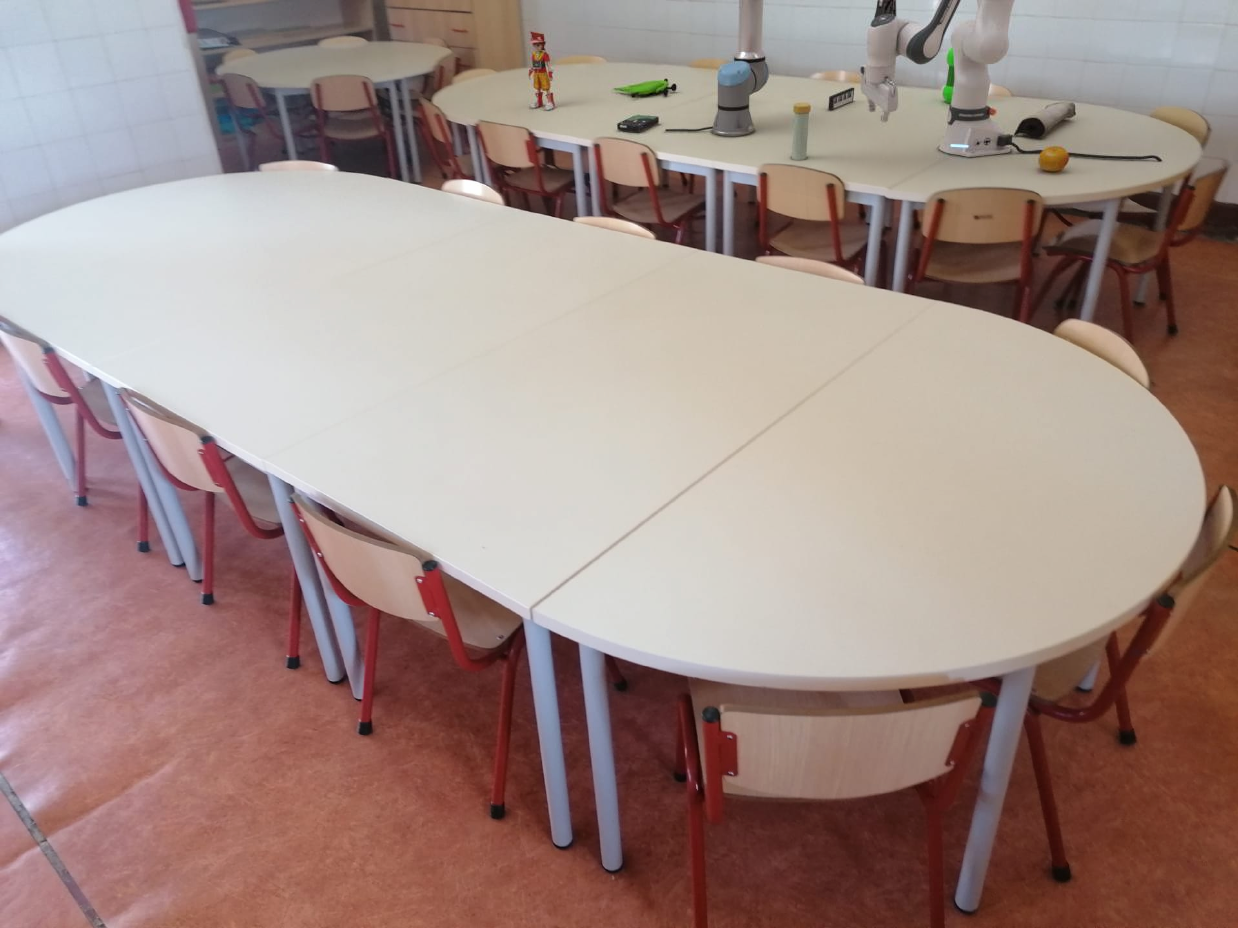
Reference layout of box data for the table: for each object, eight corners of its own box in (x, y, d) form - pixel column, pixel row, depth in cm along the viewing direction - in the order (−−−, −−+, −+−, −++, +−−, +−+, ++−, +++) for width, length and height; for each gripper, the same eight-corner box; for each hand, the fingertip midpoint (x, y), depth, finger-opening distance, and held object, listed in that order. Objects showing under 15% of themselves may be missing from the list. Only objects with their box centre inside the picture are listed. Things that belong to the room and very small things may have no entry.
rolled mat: (1043, 107, 330) (1067, 89, 322) (1056, 128, 330) (1081, 111, 322) (1009, 129, 312) (1034, 111, 304) (1024, 151, 313) (1049, 134, 305)
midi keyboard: (831, 110, 354) (832, 97, 351) (828, 110, 355) (829, 96, 352) (853, 101, 364) (854, 88, 361) (850, 100, 365) (851, 87, 362)
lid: (813, 111, 295) (814, 105, 294) (800, 114, 293) (800, 107, 292) (803, 108, 299) (803, 101, 298) (789, 111, 297) (790, 104, 296)
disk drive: (640, 133, 341) (659, 123, 351) (639, 126, 339) (659, 116, 349) (617, 131, 346) (636, 121, 356) (616, 123, 344) (636, 113, 354)
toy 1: (525, 109, 381) (517, 32, 364) (534, 104, 388) (527, 28, 371) (550, 110, 377) (543, 32, 360) (559, 105, 384) (553, 28, 367)
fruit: (1033, 161, 277) (1052, 138, 274) (1031, 164, 284) (1049, 141, 281) (1057, 177, 275) (1075, 153, 272) (1054, 179, 283) (1072, 156, 280)
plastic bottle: (973, 101, 354) (984, 32, 339) (955, 106, 349) (966, 36, 335) (952, 97, 361) (962, 29, 346) (934, 102, 356) (944, 33, 342)
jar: (809, 158, 304) (812, 106, 295) (797, 161, 302) (800, 108, 293) (800, 155, 308) (803, 103, 298) (788, 157, 306) (791, 106, 296)
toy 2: (686, 85, 398) (631, 84, 414) (685, 72, 395) (629, 72, 411) (651, 104, 381) (596, 103, 397) (650, 92, 378) (594, 91, 394)
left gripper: (889, -14, 286) (881, 58, 298) (910, -24, 303) (902, 44, 315) (865, -14, 289) (859, 57, 301) (888, -25, 306) (881, 43, 318)
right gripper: (904, 80, 272) (901, 125, 281) (876, 60, 287) (874, 103, 296) (885, 85, 271) (882, 130, 281) (857, 65, 287) (856, 108, 296)
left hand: (881, 50), depth 308 cm, fingers open, 13 cm apart
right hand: (878, 116), depth 289 cm, fingers open, 8 cm apart
